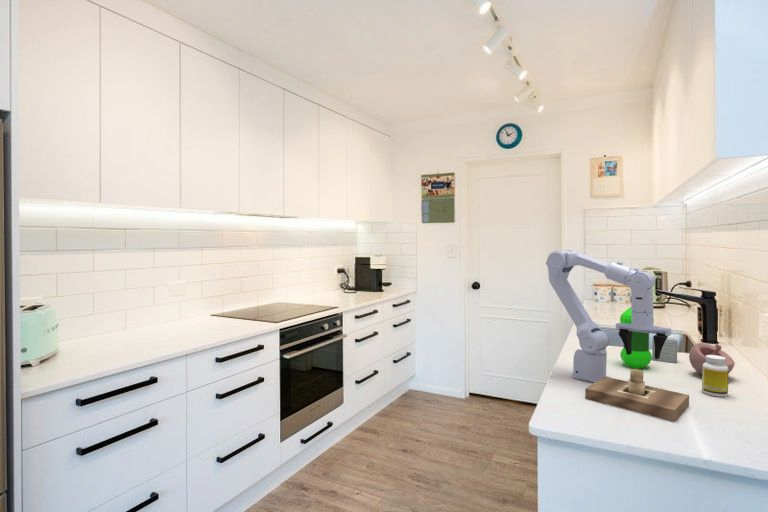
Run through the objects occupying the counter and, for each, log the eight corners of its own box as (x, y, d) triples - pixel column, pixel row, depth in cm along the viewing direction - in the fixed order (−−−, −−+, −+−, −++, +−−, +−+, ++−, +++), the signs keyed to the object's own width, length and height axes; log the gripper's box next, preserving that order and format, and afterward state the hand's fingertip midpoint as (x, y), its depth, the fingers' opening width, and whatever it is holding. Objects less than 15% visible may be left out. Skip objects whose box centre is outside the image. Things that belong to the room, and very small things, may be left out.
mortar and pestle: (719, 385, 137) (720, 348, 136) (680, 374, 148) (681, 340, 147) (742, 379, 142) (743, 345, 141) (702, 369, 153) (703, 337, 152)
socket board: (585, 398, 126) (585, 387, 126) (604, 386, 136) (604, 376, 136) (674, 421, 110) (674, 409, 110) (689, 405, 120) (689, 394, 120)
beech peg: (625, 401, 123) (626, 370, 123) (631, 398, 126) (632, 367, 125) (640, 406, 120) (641, 373, 120) (646, 402, 123) (647, 371, 122)
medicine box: (676, 360, 164) (677, 337, 163) (677, 363, 160) (677, 340, 159) (652, 357, 168) (652, 335, 167) (651, 360, 164) (652, 337, 164)
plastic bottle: (655, 372, 150) (657, 299, 149) (621, 368, 154) (622, 298, 152) (649, 364, 159) (651, 295, 158) (616, 361, 163) (618, 294, 162)
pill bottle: (732, 398, 126) (734, 360, 125) (708, 396, 127) (709, 359, 126) (720, 390, 132) (721, 354, 131) (697, 389, 133) (698, 353, 133)
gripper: (674, 312, 129) (674, 357, 129) (621, 307, 140) (622, 350, 140) (666, 315, 124) (667, 362, 125) (612, 310, 135) (613, 354, 135)
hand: (642, 356), depth 132 cm, fingers open, 7 cm apart
